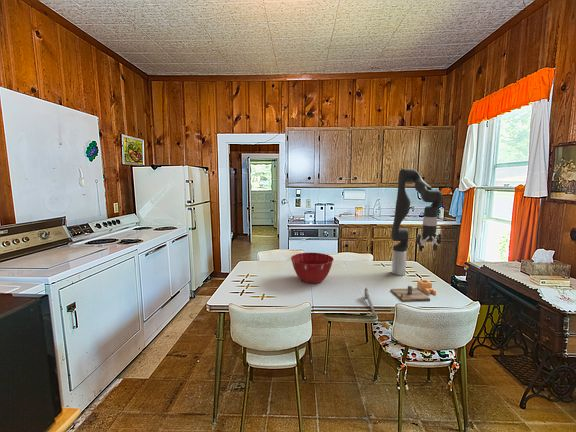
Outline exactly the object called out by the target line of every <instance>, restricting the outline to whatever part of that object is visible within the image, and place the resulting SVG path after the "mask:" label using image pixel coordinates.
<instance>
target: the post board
mask: <svg viewBox="0 0 576 432" xmlns="http://www.w3.org/2000/svg"><path fill="white" fill-rule="evenodd" d="M390 292H391V293H392V294H393V295H395V296H396V297H397V298H398V299H399V300H400V301H401V302H430V301H431V298H430V297H429V296H427V295H426V293H425V294H424V292H423V291H421V290H420V289H418V288H417V287H415V288H414V287H413V286H412V285H407V288H390Z"/></svg>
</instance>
